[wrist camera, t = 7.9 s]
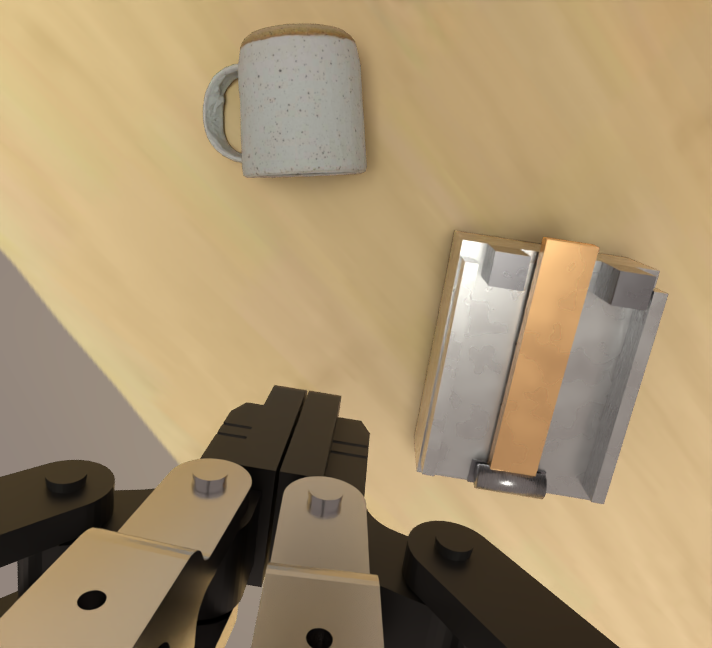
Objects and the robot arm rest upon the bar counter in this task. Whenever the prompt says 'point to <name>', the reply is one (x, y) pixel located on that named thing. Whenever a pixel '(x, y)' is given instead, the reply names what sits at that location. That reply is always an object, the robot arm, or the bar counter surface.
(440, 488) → the bar counter surface
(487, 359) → the block
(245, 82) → the ceramic mug
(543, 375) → the strap
